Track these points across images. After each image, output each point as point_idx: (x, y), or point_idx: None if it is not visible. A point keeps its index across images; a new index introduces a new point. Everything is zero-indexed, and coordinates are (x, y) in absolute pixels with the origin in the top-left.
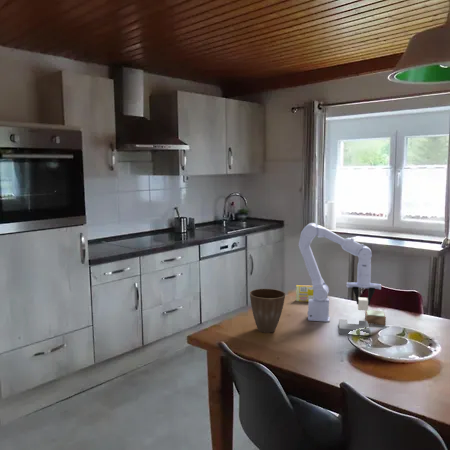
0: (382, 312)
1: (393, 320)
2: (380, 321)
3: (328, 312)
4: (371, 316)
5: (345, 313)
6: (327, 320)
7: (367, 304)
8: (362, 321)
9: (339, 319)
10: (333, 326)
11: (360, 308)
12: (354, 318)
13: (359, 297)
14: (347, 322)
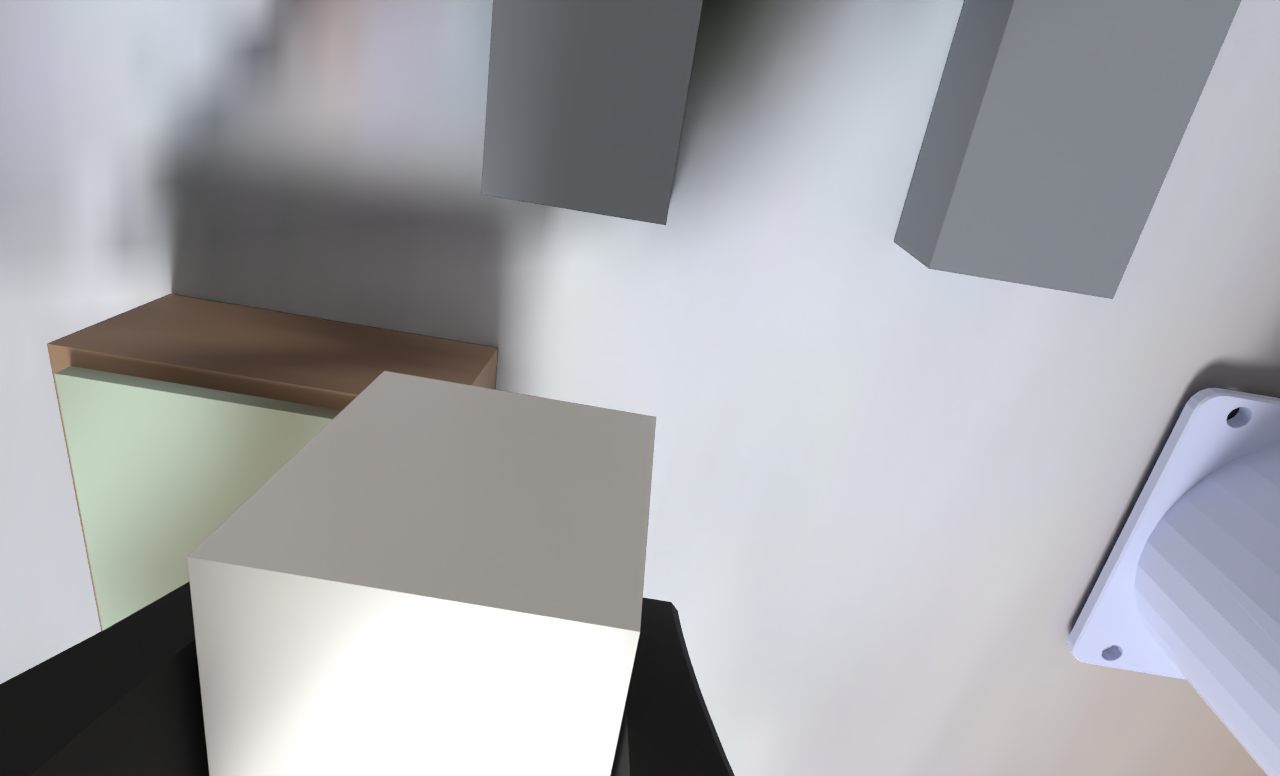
0: (112, 585)
1: (48, 525)
2: (220, 329)
3: (1260, 587)
4: (354, 391)
5: (739, 773)
6: (1228, 423)
7: (312, 468)
8: (598, 164)
9: (1112, 269)
10: (1215, 142)
11: (591, 430)
12: (652, 586)
13: None
14: (1000, 46)
